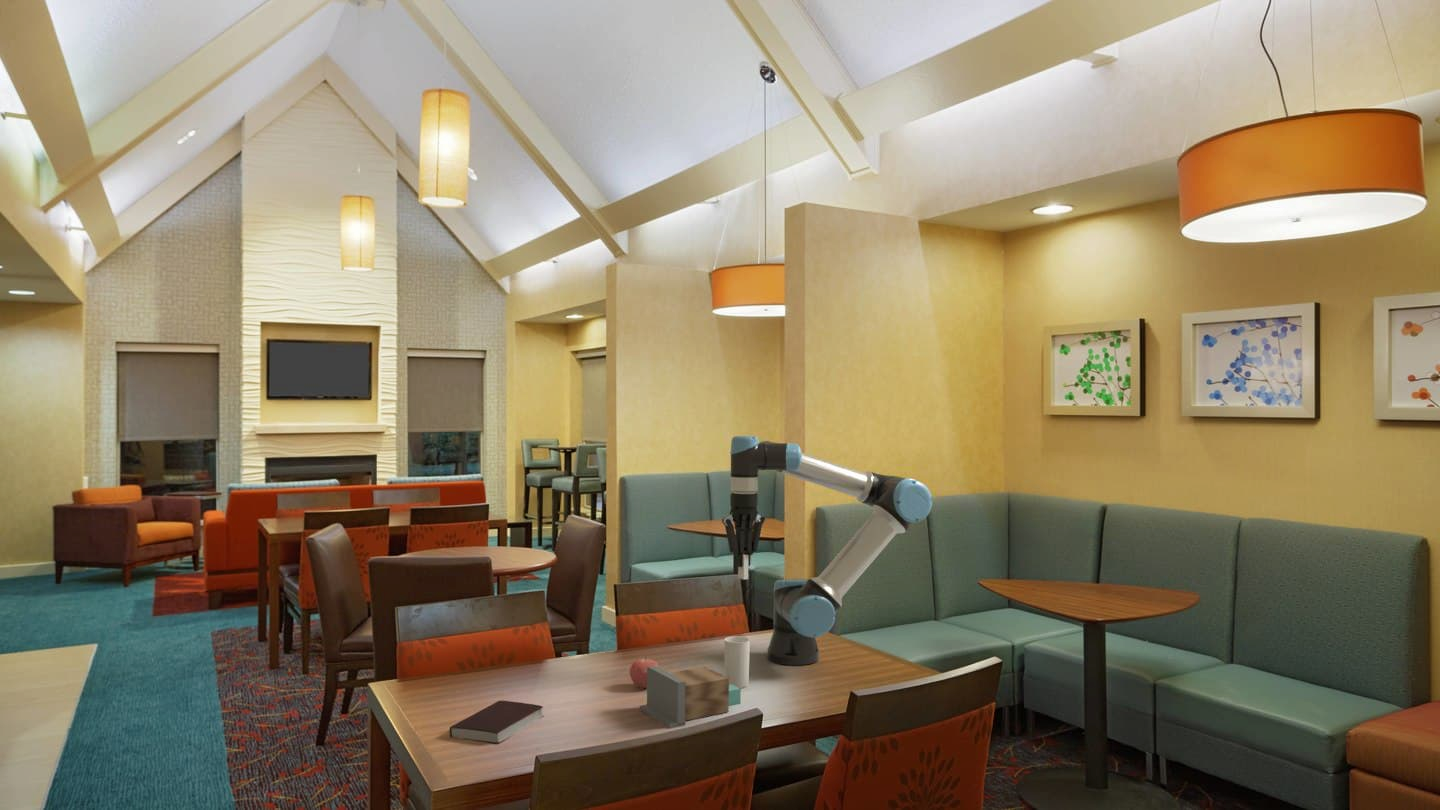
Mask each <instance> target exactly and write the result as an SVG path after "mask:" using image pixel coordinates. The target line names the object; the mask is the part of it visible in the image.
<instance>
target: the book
mask: <svg viewBox="0 0 1440 810" xmlns="http://www.w3.org/2000/svg"><path fill="white" fill-rule="evenodd" d="M543 708H544V706H543V705H538V704H533V703H526V702H519V701H509V700H498V701H495V702H494V703H493V704H490V705H488V706H487V707H485V708H483V709H481V710H480V711H477V712H476V713H474V714H472V715H470V716H468V717H466V718H464V719H462V720H460V721H458V722H457V723H455V724H453V725H451V726H450V727H449V737H450V738H456V739H462V740H468V741H472V742H480V743H485V744H491V745H492V744H494V745H499V744H501V743H503V742H505V741H506V740H508V739H510V738H511V737H512V736H514V735H516V734H517V733H519V732H520V731H522V730H523V729H524V728H526V727H528V726H529V725H531V724H533V723H534V722H536V721H538V720H540V719H542V718H543V717H544V715H543V711H542V710H543Z"/></svg>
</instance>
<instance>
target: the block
mask: <svg viewBox="0 0 1440 810" xmlns="http://www.w3.org/2000/svg"><path fill="white" fill-rule="evenodd" d="M669 673H670V674H672V675H674V676H676V677H678V678H680V679H682V680H684V681H686V686H685V722H686V721H690V720H695V719H699V718H703V717H708V716H709V717H710V716H715V715H719V714H724V713H729V707H730V706H729V678H727V677H725V675H723V674H721V673H719V672H716V671H714V670H712V669H710V668H708V667H706V666H703V667H701V666H700V667H696V668H690V669H683V670H678V671H674V672H673V671H672V672H669Z"/></svg>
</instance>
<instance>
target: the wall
mask: <svg viewBox="0 0 1440 810" xmlns="http://www.w3.org/2000/svg"><path fill="white" fill-rule="evenodd" d="M670 673H671V672H668V671H667V670H665V669H662V668H661V667H659V666H658V667H657V666H655V665H654V666H648V667H647V688H646V704H643V705H641V704H640V705H639V710H640V711H642V712H643V713H644V714H646V715H648V716H649V717H651V718H653V719H654V720H656V721H658V722H659V723H661V724H662V725H664V726H665V727H667V728H669V729H671V728H672V729H673V728H677V727H682V726H683V727H684V726H686V721H685V686H686V681H684V680H682V679H680V678H678V677H676V676H674V675H672V674H670Z"/></svg>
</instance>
